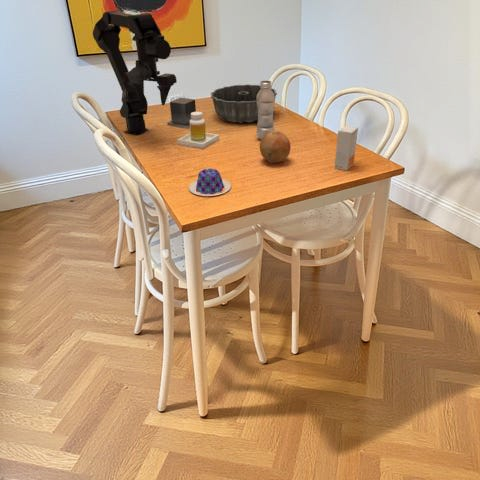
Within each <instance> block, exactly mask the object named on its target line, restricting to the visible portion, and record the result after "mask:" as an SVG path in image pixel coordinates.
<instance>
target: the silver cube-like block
mask: <svg viewBox="0 0 480 480" xmlns="http://www.w3.org/2000/svg"><path fill="white" fill-rule="evenodd" d="M169 108H170V110H169V111H170V118H171V120H169V121H168V122H167V123H166V124H167V126H170V127H176V128H181V129H189V130H190V120H191V119H192V118H191V113H192V112H197V110H196V109H197V108H196V99H193V98H187V97H179V98H175V99H174V100H171V101H169Z"/></svg>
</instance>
